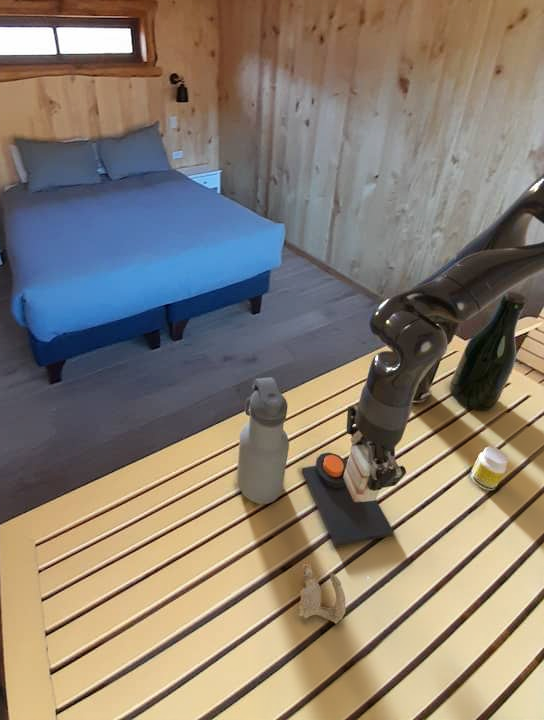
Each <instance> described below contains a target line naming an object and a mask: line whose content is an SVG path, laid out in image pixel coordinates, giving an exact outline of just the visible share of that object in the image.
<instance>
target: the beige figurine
mask: <svg viewBox="0 0 544 720" xmlns="http://www.w3.org/2000/svg"><path fill="white" fill-rule="evenodd" d="M301 576H302V580H303V582H304V584H305V587H302V588H301V590H300V600H299V603H298V612H297V617H303V619H304V620H306V619H308V618H309V617H311V616H319V617H320V618H321V617H322V618H323V619H326V620H328V621H330V622H332V623H334V624H338V623H339V622H340V621H342V619H343V618H344V616H345V615H346V605H347V604H346V595H345V592H344V589H343V587H342V582H341V581H340V579H339V578H338V576H337V575H336V574H334V573H332V572H329V577H330V582H331V586H332V588H333V590H334V594H335V603H334V605H333V606H332V607H324V606H321V603H322V591H321V586H320V584H319V582H318V580H317V578H316V577H315V576H314V572H313V568H312V567H311V565H310V564H308V563H306V564H302V572H301Z"/></svg>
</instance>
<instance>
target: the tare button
mask: <svg viewBox="0 0 544 720" xmlns="http://www.w3.org/2000/svg"><path fill="white" fill-rule="evenodd" d="M323 468H324V471H325V472H326V473H327V474H328V475H329V476H331V477H335V478H336V477H340V476H341V475H342V472H343V468H344V465H343V462H342V461H341V459H340V458H338V457H337V456H334V455H328V456H326V457H325V459H324V463H323Z"/></svg>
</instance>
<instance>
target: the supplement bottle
mask: <svg viewBox="0 0 544 720" xmlns="http://www.w3.org/2000/svg"><path fill="white" fill-rule="evenodd" d="M508 462H509V459H508V456H507V455H506V453H505V452H503V451H502V450H501V449H499V448H497V447H494V446H486V447H485V448H484V450H483V451H481V452H480V453H479V454H478V456H477V458H476V460H475V462H474V464H473V466H472V467H471V468H472V469H471V470H470V477H471V479H472V481H473V482H474V483H475V485H477V486H478V487H480V488H481V489H483V490H486V491H494V490H496V488H498V485H499V483H500V482H501V480H502V479H503V476H504V475H505V473H506V471H507V464H508Z"/></svg>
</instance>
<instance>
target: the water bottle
mask: <svg viewBox="0 0 544 720" xmlns="http://www.w3.org/2000/svg"><path fill="white" fill-rule="evenodd" d="M252 381H253V382H252V391H253V393H252V394H251V395H250V396H248V397H247V398H246V399H245V404H244V405H245V406H244V413H245V415H246V416H249V421H247V422H246V423H245V424H244V425H243V426H242V429H241V431H240V435H239V443H238V456H237V471H236V483H237V486H238V488H239V491H240V492H241V494H242V495H243V496H244V497H245V498H246V499H247V500H249V501H251V502H252V503H255V504H258V505H267V504H271V503H273V502H275V501H276V500H277V499H278V498H279V497H280V495H281V493H282V491H283V486H284V481H285V473H286V467H287V461H288V455H289V450H290V449H289V448H290V442H289V437H288V435H287V432H286V431H285V429H284V425H285V422H286V420H287V414H288V407H289V406H288V401H287V399H286V397H285V396H284V395H283V394H282V393H281V392H280V389H279V387H278V384H277V382H276V379H275V378H274V377H263V378H254V379H253V380H252Z"/></svg>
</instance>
